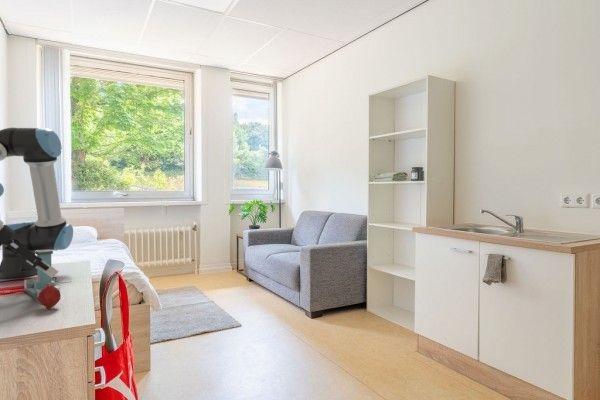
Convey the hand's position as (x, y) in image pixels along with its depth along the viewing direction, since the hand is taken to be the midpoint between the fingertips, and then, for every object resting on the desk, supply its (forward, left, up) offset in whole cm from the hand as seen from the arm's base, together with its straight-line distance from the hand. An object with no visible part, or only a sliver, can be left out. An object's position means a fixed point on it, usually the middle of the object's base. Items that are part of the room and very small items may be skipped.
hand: (49, 271), depth 130 cm
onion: (+16, +7, -9) cm, 19 cm away
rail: (-2, -4, -8) cm, 10 cm away
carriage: (+1, -1, -6) cm, 6 cm away
